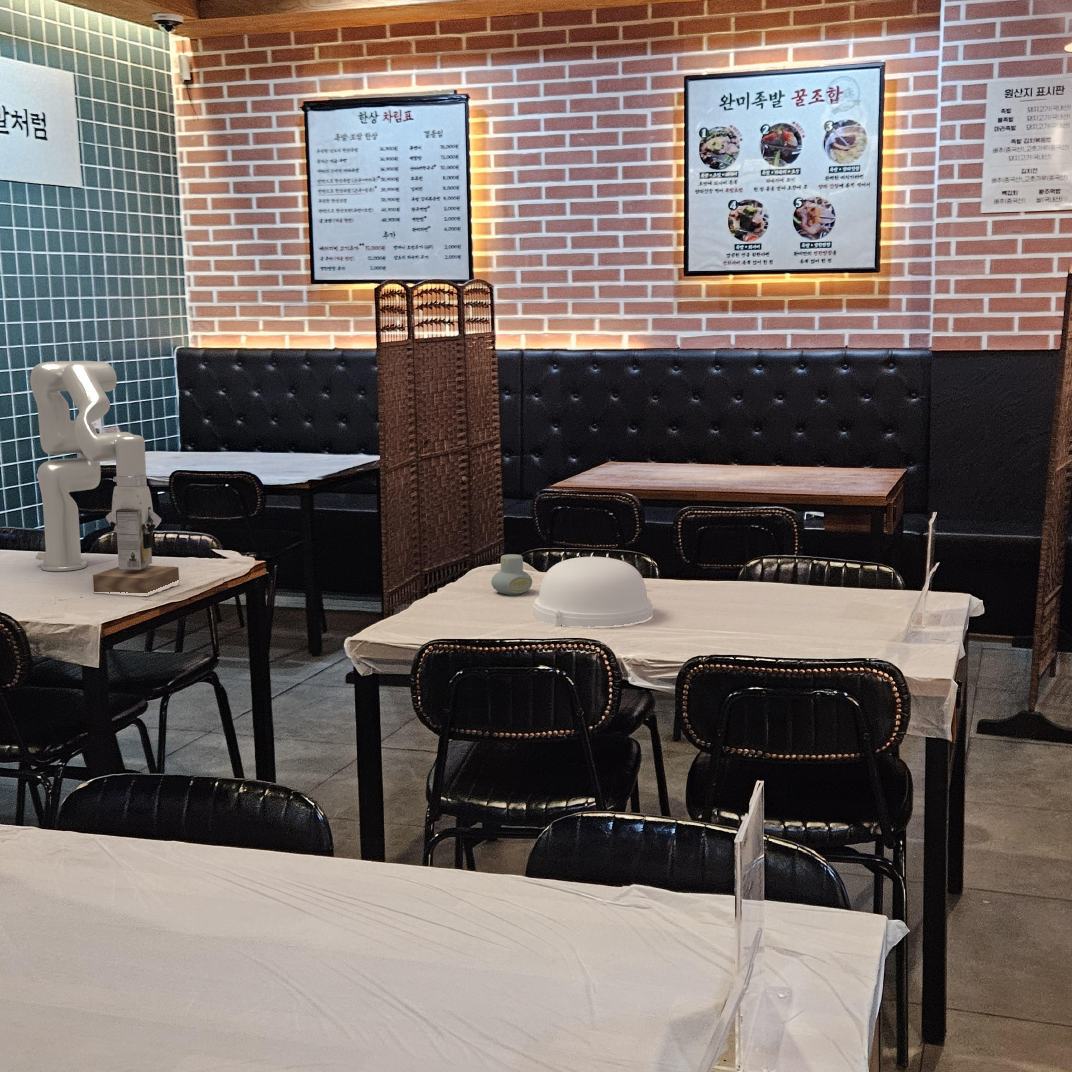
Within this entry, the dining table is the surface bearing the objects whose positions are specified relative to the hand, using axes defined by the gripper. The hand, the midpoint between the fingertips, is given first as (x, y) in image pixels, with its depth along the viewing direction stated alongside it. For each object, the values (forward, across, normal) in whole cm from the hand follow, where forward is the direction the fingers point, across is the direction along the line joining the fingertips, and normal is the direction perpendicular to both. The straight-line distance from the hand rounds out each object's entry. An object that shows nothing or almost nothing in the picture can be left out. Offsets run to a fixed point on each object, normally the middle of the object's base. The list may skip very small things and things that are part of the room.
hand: (134, 546), depth 354 cm
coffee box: (+6, 0, 0) cm, 6 cm away
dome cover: (+12, +125, +7) cm, 126 cm away
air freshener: (+11, +98, +25) cm, 102 cm away
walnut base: (+12, 0, 0) cm, 12 cm away
